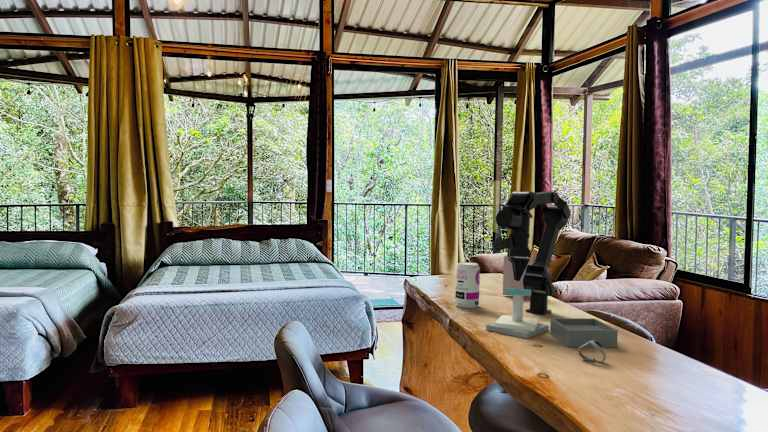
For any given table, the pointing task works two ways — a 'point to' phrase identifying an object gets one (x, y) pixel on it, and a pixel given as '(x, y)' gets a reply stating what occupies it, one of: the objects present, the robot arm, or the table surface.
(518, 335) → the pad
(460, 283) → the supplement can
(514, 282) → the greeting card
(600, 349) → the wristwatch
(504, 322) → the cover
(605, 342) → the housing
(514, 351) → the table surface
